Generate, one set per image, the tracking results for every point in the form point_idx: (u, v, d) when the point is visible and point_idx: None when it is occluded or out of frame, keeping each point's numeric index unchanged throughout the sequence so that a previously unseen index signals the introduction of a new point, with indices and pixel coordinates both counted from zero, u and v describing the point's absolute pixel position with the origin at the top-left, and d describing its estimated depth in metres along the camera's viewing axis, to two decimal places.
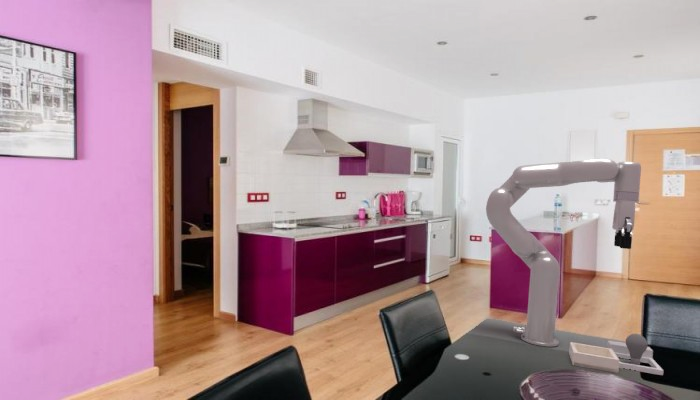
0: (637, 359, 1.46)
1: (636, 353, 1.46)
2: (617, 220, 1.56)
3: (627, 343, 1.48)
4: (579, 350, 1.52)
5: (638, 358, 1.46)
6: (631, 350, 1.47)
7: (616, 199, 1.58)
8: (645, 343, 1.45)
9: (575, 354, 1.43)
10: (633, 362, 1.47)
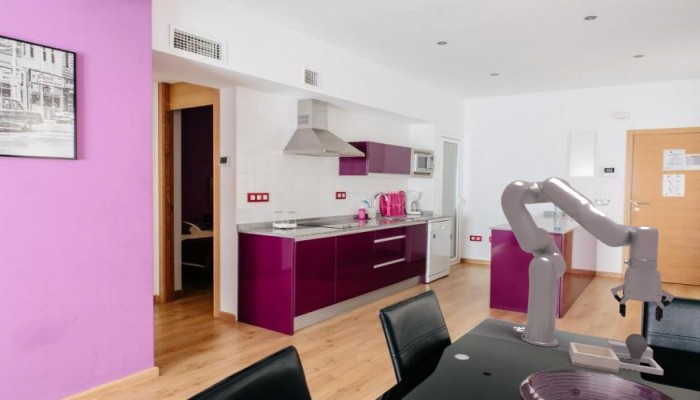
0: (637, 359, 1.46)
1: (636, 353, 1.46)
2: (656, 292, 1.44)
3: (627, 343, 1.48)
4: (579, 350, 1.52)
5: (638, 358, 1.46)
6: (631, 350, 1.47)
7: (652, 269, 1.44)
8: (645, 343, 1.45)
9: (575, 354, 1.43)
10: (633, 362, 1.47)
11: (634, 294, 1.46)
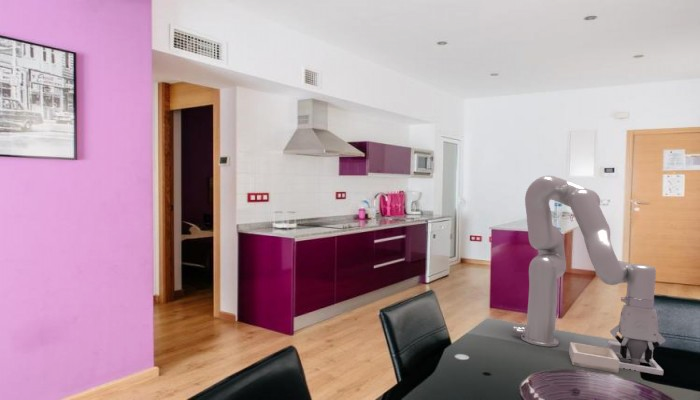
0: (637, 359, 1.46)
1: (636, 353, 1.46)
2: (652, 331, 1.44)
3: (627, 343, 1.48)
4: (579, 350, 1.52)
5: (638, 358, 1.46)
6: (631, 350, 1.47)
7: (648, 308, 1.44)
8: (645, 343, 1.45)
9: (575, 354, 1.43)
10: (633, 362, 1.47)
11: (630, 333, 1.46)
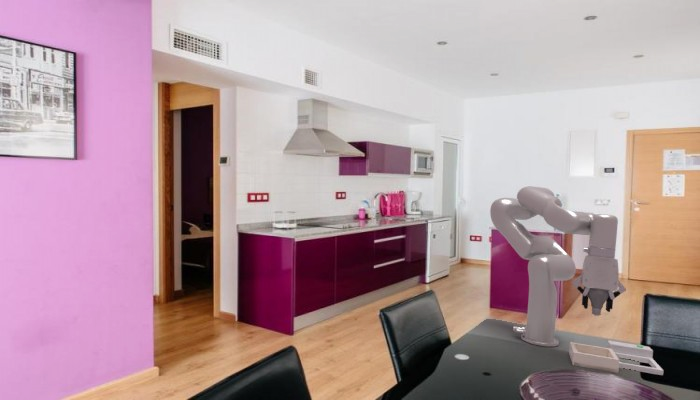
0: (598, 309, 1.46)
1: (597, 303, 1.45)
2: (613, 280, 1.43)
3: (588, 293, 1.47)
4: (579, 350, 1.52)
5: (599, 308, 1.45)
6: (592, 300, 1.46)
7: (610, 257, 1.43)
8: (606, 292, 1.44)
9: (575, 354, 1.43)
10: (594, 312, 1.46)
11: (591, 282, 1.45)
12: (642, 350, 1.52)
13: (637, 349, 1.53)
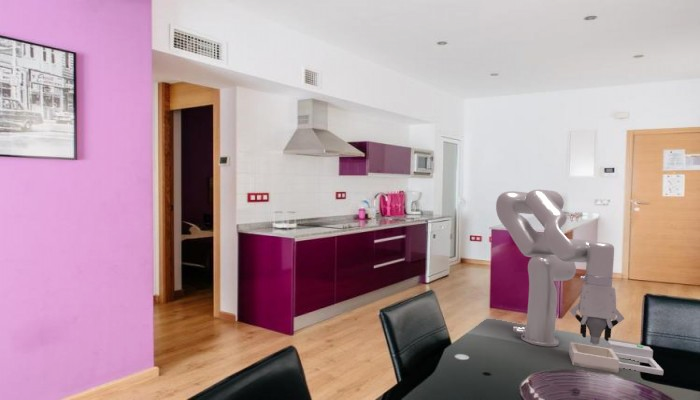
0: (596, 338, 1.45)
1: (595, 331, 1.45)
2: (611, 309, 1.43)
3: (586, 322, 1.46)
4: (579, 350, 1.52)
5: (597, 337, 1.45)
6: (590, 329, 1.45)
7: (607, 286, 1.43)
8: (604, 321, 1.44)
9: (575, 354, 1.43)
10: (593, 341, 1.46)
11: (589, 311, 1.45)
12: (642, 350, 1.52)
13: (637, 349, 1.53)
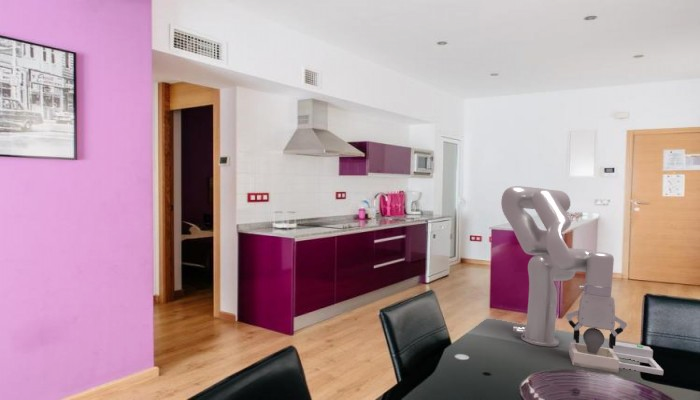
0: (593, 353, 1.46)
1: (592, 347, 1.45)
2: (609, 319, 1.43)
3: (584, 337, 1.47)
4: (579, 350, 1.52)
5: (594, 352, 1.45)
6: (588, 344, 1.46)
7: (606, 296, 1.43)
8: (602, 337, 1.44)
9: (575, 354, 1.43)
10: None
11: (587, 321, 1.45)
12: (642, 350, 1.52)
13: (637, 349, 1.53)
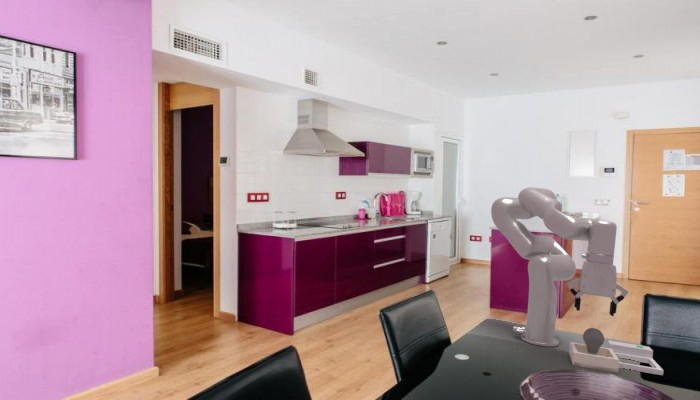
0: (593, 353, 1.46)
1: (592, 347, 1.45)
2: (611, 287, 1.43)
3: (584, 337, 1.47)
4: (579, 350, 1.52)
5: (594, 352, 1.45)
6: (588, 345, 1.46)
7: (608, 264, 1.43)
8: (601, 337, 1.44)
9: (575, 354, 1.43)
10: None
11: (589, 288, 1.45)
12: (642, 350, 1.52)
13: (637, 349, 1.53)
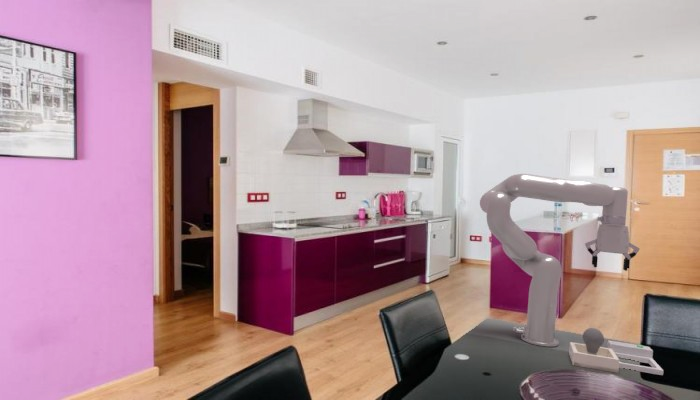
0: (593, 353, 1.46)
1: (592, 347, 1.45)
2: (624, 244, 1.63)
3: (584, 337, 1.47)
4: (579, 350, 1.52)
5: (594, 352, 1.45)
6: (588, 345, 1.46)
7: (621, 224, 1.63)
8: (601, 337, 1.44)
9: (575, 354, 1.43)
10: None
11: (605, 247, 1.65)
12: (642, 350, 1.52)
13: (637, 349, 1.53)
